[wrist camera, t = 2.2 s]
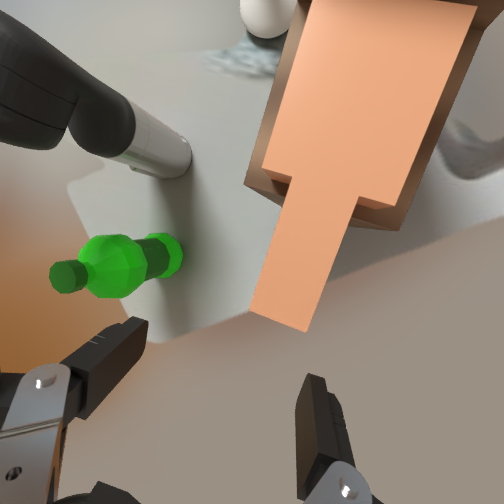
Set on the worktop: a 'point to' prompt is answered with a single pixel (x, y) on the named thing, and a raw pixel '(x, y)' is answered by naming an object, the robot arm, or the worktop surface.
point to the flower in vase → (267, 16)
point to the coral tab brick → (349, 131)
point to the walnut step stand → (391, 218)
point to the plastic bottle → (117, 264)
